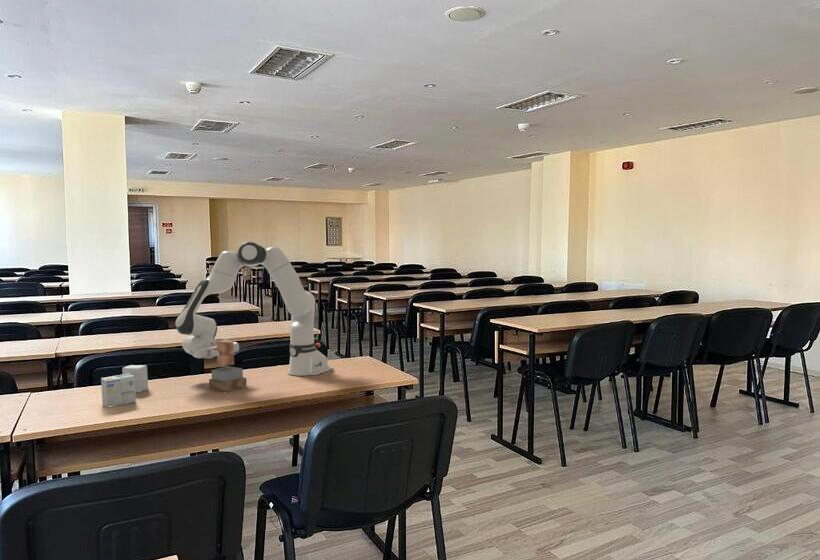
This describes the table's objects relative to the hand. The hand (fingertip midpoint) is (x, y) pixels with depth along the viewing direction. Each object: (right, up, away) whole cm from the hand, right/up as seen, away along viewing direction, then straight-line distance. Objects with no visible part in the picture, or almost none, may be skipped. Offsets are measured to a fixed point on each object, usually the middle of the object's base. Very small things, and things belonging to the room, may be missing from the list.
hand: (226, 352), depth 238 cm
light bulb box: (-35, -18, -21) cm, 45 cm away
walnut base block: (0, -16, +1) cm, 16 cm away
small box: (-38, -16, -2) cm, 41 cm away
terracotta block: (-1, -5, +1) cm, 6 cm away
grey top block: (0, -12, +1) cm, 12 cm away
